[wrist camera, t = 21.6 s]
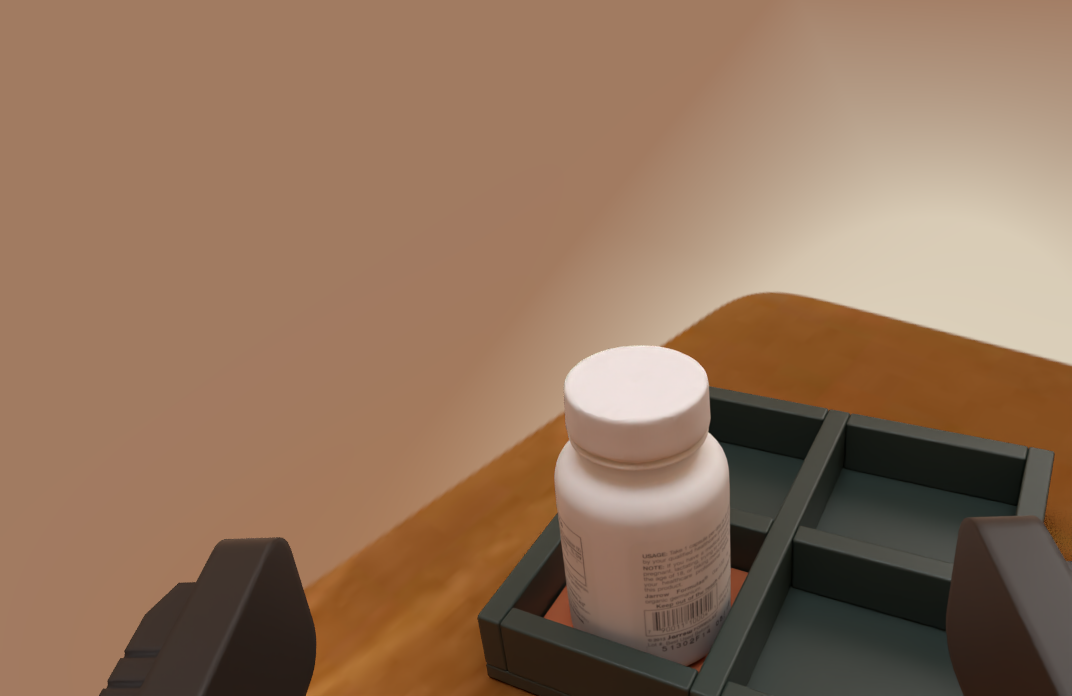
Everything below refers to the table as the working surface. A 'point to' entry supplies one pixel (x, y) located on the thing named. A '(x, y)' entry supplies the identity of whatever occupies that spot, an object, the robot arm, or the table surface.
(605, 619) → the pill bottle
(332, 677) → the table surface
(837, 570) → the compartment tray
